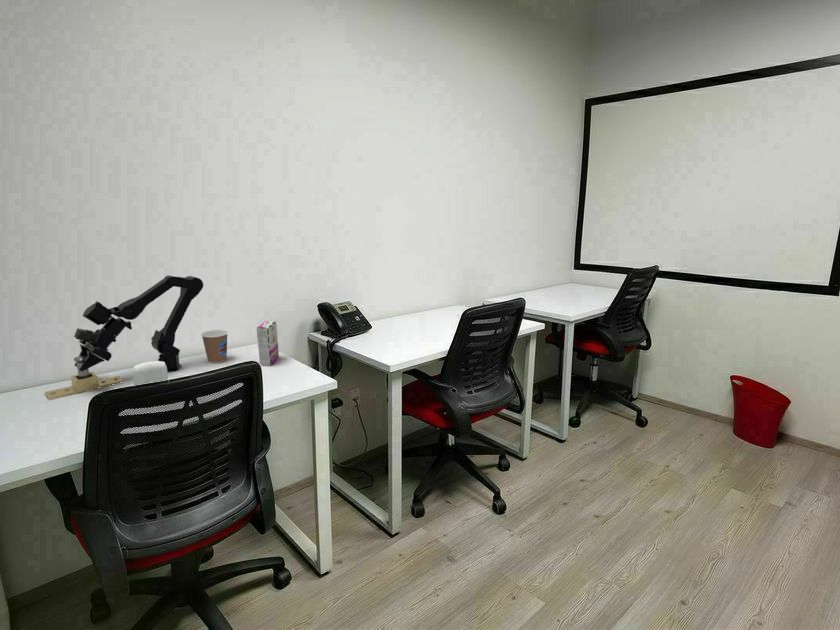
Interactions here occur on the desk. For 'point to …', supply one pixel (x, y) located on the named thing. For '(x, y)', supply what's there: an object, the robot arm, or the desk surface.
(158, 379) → the photo printer
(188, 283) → the robot arm
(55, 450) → the desk surface
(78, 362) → the hinge pin
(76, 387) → the brass socket plate
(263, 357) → the candy bar box
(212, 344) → the coffee cup
